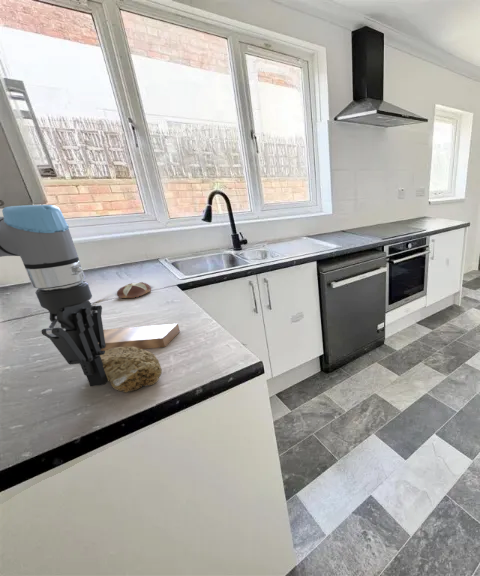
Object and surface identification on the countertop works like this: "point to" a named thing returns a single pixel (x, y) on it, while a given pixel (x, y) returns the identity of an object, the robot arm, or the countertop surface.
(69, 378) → the countertop surface
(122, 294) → the bread
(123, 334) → the wooden board
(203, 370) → the countertop surface
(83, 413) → the countertop surface
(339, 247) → the countertop surface
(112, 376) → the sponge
